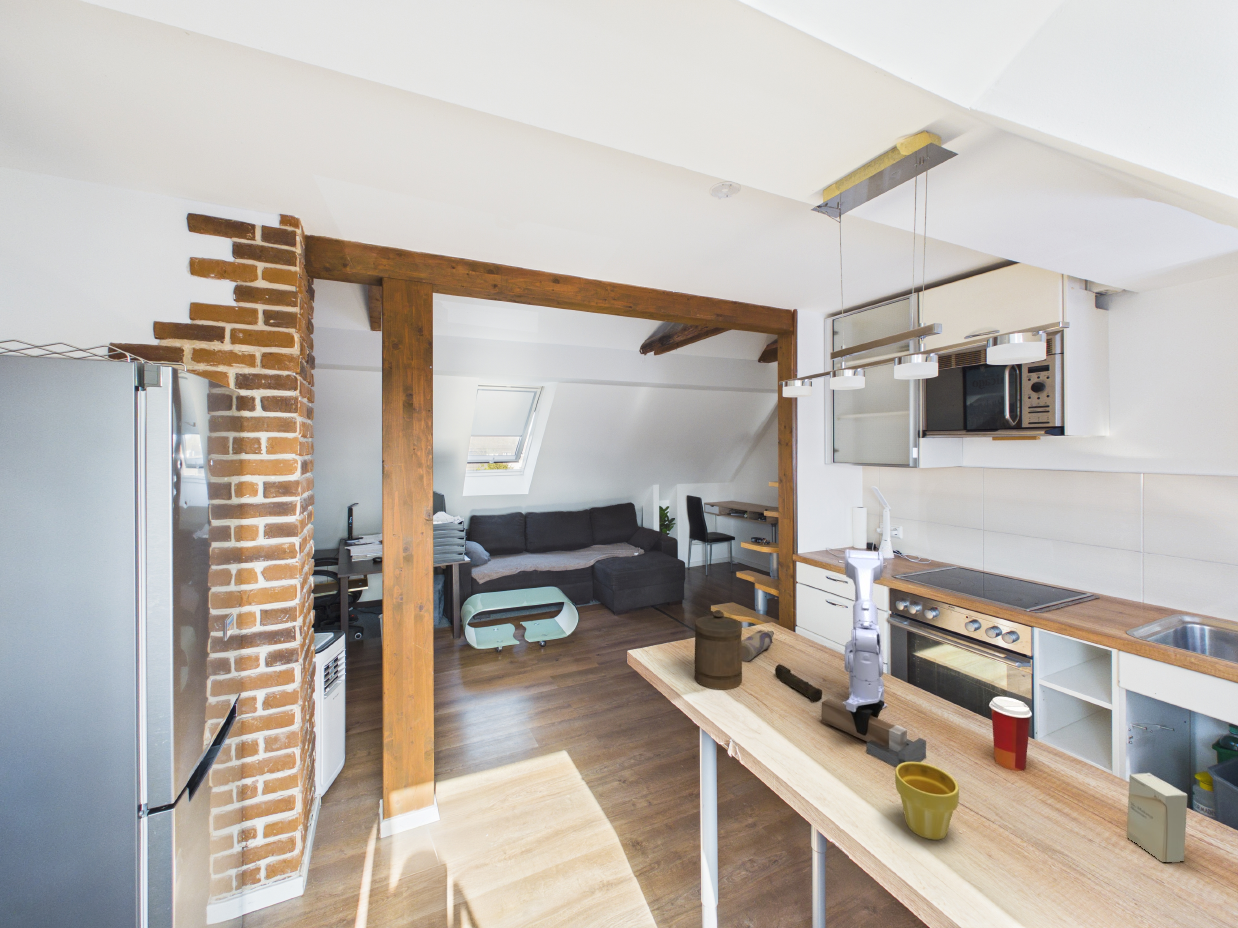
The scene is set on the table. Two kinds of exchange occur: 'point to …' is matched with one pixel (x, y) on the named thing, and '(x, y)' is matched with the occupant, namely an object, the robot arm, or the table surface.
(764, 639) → the decorative bottle
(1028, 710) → the paper cup
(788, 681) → the hand tool
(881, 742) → the walnut rail
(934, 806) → the plant pot
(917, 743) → the u-shaped metal bracket
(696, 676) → the wooden container
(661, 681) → the table surface
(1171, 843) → the skincare box
